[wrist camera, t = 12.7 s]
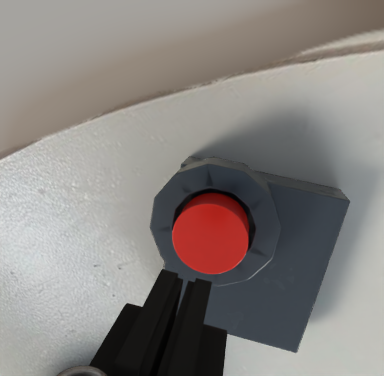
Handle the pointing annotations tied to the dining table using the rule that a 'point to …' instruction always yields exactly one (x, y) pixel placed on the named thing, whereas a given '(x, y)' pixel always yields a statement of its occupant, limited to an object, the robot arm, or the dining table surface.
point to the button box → (258, 247)
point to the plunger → (211, 233)
